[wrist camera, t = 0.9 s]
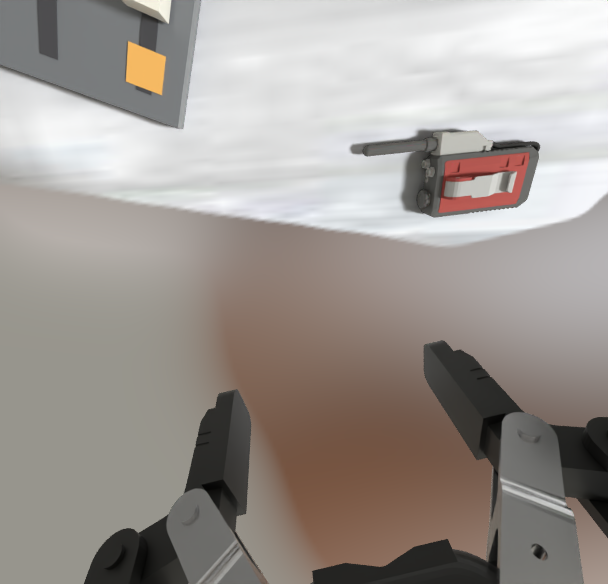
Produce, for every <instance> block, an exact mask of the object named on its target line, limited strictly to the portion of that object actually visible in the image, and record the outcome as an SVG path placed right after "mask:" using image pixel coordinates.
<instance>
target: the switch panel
mask: <svg viewBox="0 0 608 584" xmlns="http://www.w3.org/2000/svg"><path fill="white" fill-rule="evenodd" d="M200 4H201V0H171V8H170V18H169V24H167V23H165V22H163V21H161V20H158V19H156V18H154V17H152V16H149V15H147V14H145V13H143V12H140V11H138V10H136V9H134V8H131V7H129V6H127V5H126V4H125V3H124V2H123V1H122V0H0V65H2V66H5V67H8V68H11V69H13V70H16V71H19V72H22V73H25V74H27V75H30V76H33V77H36V78H38V79H41V80H44V81H47V82H50V83H52V84H55V85H58V86H61V87H64V88H66V89H69V90H72V91H75V92H78V93H80V94H83V95H86V96H89V97H91V98H94V99H97V100H100V101H103V102H105V103H108V104H111V105H114V106H117V107H119V108H122V109H125V110H128V111H131V112H133V113H136V114H139V115H142V116H144V117H147V118H150V119H153V120H156V121H158V122H161V123H164V124H167V125H170V126H172V127H175V128H178V129H183V126H184V119H185V112H186V105H187V98H188V90H189V83H190V76H191V69H192V62H193V55H194V47H195V40H196V33H197V26H198V19H199V12H200Z"/></svg>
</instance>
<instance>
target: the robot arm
mask: <svg viewBox="0 0 608 584" xmlns="http://www.w3.org/2000/svg"><path fill="white" fill-rule="evenodd" d="M424 374H425V378H426V380H427V383H428V384H429V386H430V388H431V389H432V391H433V392H434V394H435V395H436V397H437V399H438V400H439V402H440V403H441V405H442V406H443V408H444V410H445V411H446V413H447V414H448V416H449V417H450V419H451V420H452V422H453V424H454V425H455V427H456V428H457V430H458V431H459V433H460V435H461V436H462V438H463V439H464V441H465V442H466V444H467V446H468V447H469V448H470V450H471V452H472V453H473V455H474V457H475V458H476V460H479V459H483V458H488V460H489V461H490V463H491V464H492V465H493V470H492V485H491V504H490V522H489V532H488V540H487V552H486V561H485V560H483V559H481V558H480V557H478V556H475V555H473V554H470V553H468V552H464V551H460V550H455V549H452V548H451V545H450V543H449V541H448V539H446V540H441V541H437V542H433V543H428V544H425V545H420V546H416V547H413V548H412V549H410V550H409V551H407V552H406V553H404V554H403V555H401V556H400V557H398V558H397V559H395V560H394V561H392V562H391V563H389V564H388V565H386V566H384V567H375V566H367V565H358V564H349V563H344V564H339V565H335V566H331V567H327V568H323V569H318V570H314V571H312V572H313V582H312V583H311V584H584V581H583V574H582V567H581V559H580V552H579V544H578V537H577V530H576V523H575V518H574V514H573V512H572V510H571V509H570V508H568V507H567V505H566V501H565V497H573V498H577V499H578V501H579V502H580V503H581V504H582V506H583V507H584V508H585V509H586V510H587V512H588V513H589V514H590V516H591V517H592V518H593V520H594V521H595V522H596V524H597V525H598V526H599V527H600V529H601V530H602V531H603V533H604V534H605V535H606V536H607V538H608V417H597V418H594V419H592V420H590V421H589V422H588V424H587V426H586V428H583V427H569V426H555V425H550V424H547V423H546V422H545V421H543V420H542V419H540V418H538V417H536V416H534V415H531V414H528V413H525V412H523V411H522V410H521V409H520V408H519V407H518V406H517V404H516V403H515V402H514V401H513V400H512V399H511V398H510V397H509V396H508V395H507V393H506V392H505V391H504V390H503V389H502V388H501V387H500V386H499V385H498V384H497V383H496V381H495V380H494V379H492V377H490V375H489V374H488V373H487V372H486V371H485V369H483V368H482V366H481V365H480V364H479V363H478V362H477V361H476V360H475V359H474V357H472V356H470V355H469V354H467V353H465V352H464V351H461V350H456V351H453V350H452V349H451V348H450V346H449V345H448V344H447V343H446V342H445V341H438V342H433V343H429V344H425V345H424ZM250 436H251V421H250V415H249V412H248V410H247V408H246V406H245V404H244V401H243V399H242V397H241V395H240V393H239V391H238V390H237V389H236V390H232V391H228V392H224V393H220V394H218V397H217V402H216V407H215V408H213V409H209V410H208V411H207V412H206V414H205V416H204V417H203V419H202V421H201V423H200V428H199V432H198V437H197V441H196V448H195V450H194V454H193V458H192V463H191V467H190V471H189V476H188V480H187V484H186V488H185V492H184V494H183V495H182V496H181V497H180V498H179V499H178V500H177V501H176V502H175V503H174V505H173V506H172V508H171V510H170V512H169V514H168V515H167V516H165V517H164V518H163V519H161V520H159V521H158V522H156V523H154V524H153V525H151V526H149V527H148V528H146V529H145V530H143V531H141V532H139V533H138V532H136V531H135V530H134V529H131V528H127V529H123V530H120V531H118V532H116V533H115V534H113V535H112V536H111V537H110V538H109V539H107V540H106V542H105V543H104V544H103V545H102V546H101V547H100V549H99V550H98V552H97V553H96V555H95V557H94V559H93V561H92V563H91V566H90V569H89V571H88V574H87V577H86V579H85V582H84V584H269V583H268V581H267V580H266V578H265V577H264V575H263V573H262V572H261V570H260V569H259V567H258V565H257V564H256V563H255V561H254V559H253V558H252V556H251V554H250V553H249V551H248V549H247V548H246V546H245V545H244V543H243V542H242V540H241V539H240V537H239V535H238V534H237V532H236V530H235V529H236V516H239V515H243V514H246V507H247V490H248V472H249V454H250Z"/></svg>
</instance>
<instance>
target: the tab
mask: <svg viewBox="0 0 608 584" xmlns="http://www.w3.org/2000/svg"><path fill="white" fill-rule="evenodd" d="M122 1H123V2H124V3H125V4H126V5H127V6H129V7H131V8H134V9H136V10H138V11H140V12H143V13H145V14H147V15H149V16H152V17H154V18H156V19H158V20H161V21H163V22H165V23H167V24H169V18H170V8H171V0H122Z"/></svg>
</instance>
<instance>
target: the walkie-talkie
mask: <svg viewBox="0 0 608 584" xmlns="http://www.w3.org/2000/svg"><path fill="white" fill-rule="evenodd" d="M530 145H531V146H530ZM491 147H493V149H491ZM539 149H540V145H539V143H537V142H531V141H530V142H521V143H511V144H500V145H499V144H496V143H494V142H493V140H487V139H486V138H485V137H484V136H483V135H482V134H481V133H479V132H478V131H461V132H450V133H449V132H435V133H433V136H432V138H425V139H424V140H418V141H408V142H398V143H388V144H378V145H368V146H366V147H364V149H363V154H364V155H365V156H376V155H385V154H394V153H404V152H413V151H422V150H423V151H424V152H429V151H431V153H430V156H429V157H428V158H427V159H426V160H423V161H422V168H426V169H425V179H424V188H423V190H421V191H420V192H419V194H418V196H417V203H418V206H419V207H420V208H421V211H422V212H423V213H425V214H427V215H429V216H432V217H442V216H450V215H458V214H467V213H470V212H472V213H474V212H479V211H481V212H483V211H487V210H490V211H491V210H496V209H499V210H500V209H505V208H507V209H508V208H514V207H516V208H517V207H518V206H519V205H521V204H522V203H524V202H525V201H526V200H527V198H528V195H529V191H530V188H531V184H532V180H533V177H534V173H535V170H536V166H537V163H538V159H539V153H538V151H539Z"/></svg>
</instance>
